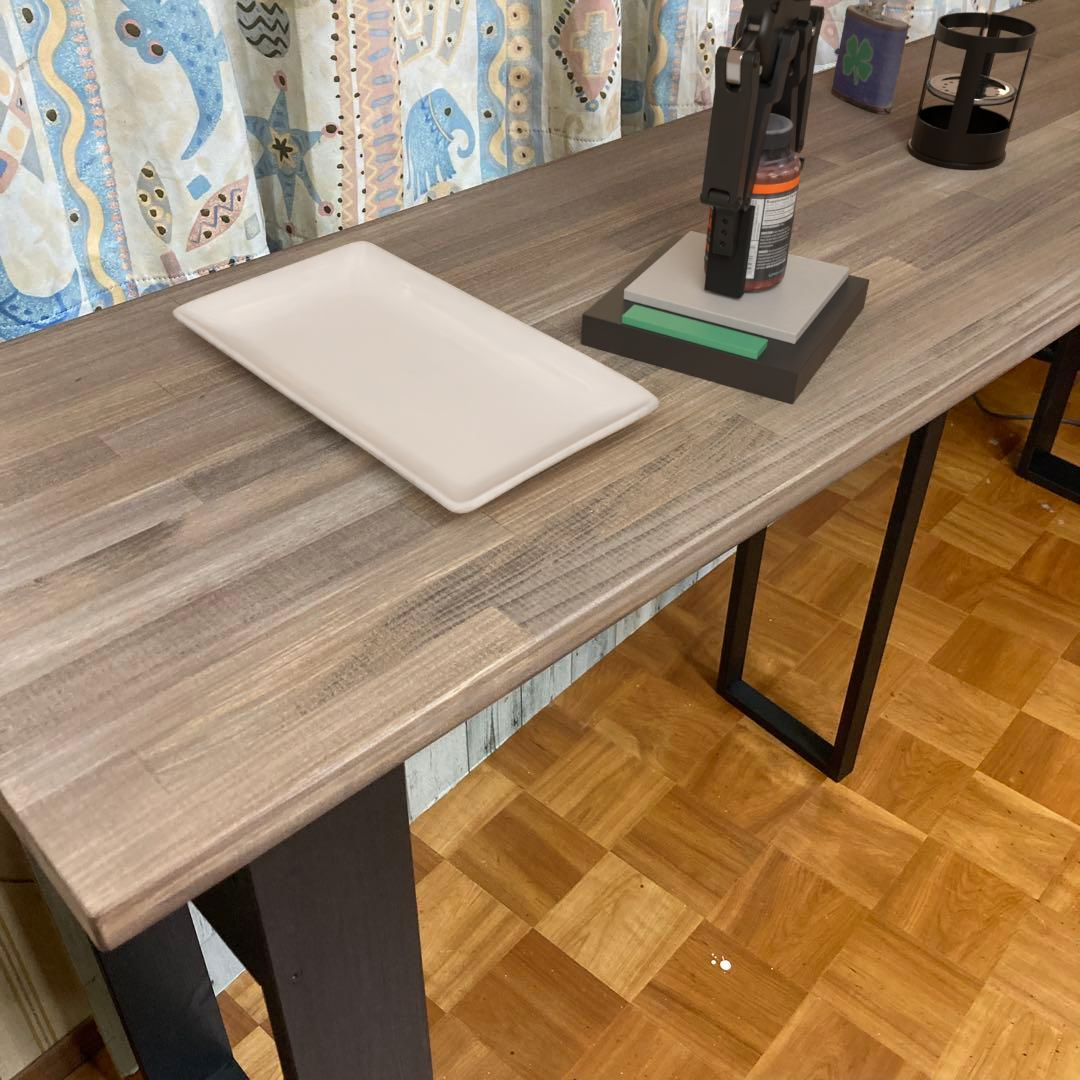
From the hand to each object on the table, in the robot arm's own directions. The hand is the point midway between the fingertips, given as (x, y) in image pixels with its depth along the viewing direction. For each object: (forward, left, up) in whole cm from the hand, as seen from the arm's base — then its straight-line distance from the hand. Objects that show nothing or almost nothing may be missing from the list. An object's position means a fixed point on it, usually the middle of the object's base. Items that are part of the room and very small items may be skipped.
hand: (741, 273), depth 82 cm
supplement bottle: (0, 0, 0) cm, 1 cm away
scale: (0, +2, -4) cm, 4 cm away
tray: (+15, +22, -4) cm, 27 cm away
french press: (-6, -44, -4) cm, 45 cm away
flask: (+7, -54, -4) cm, 55 cm away
